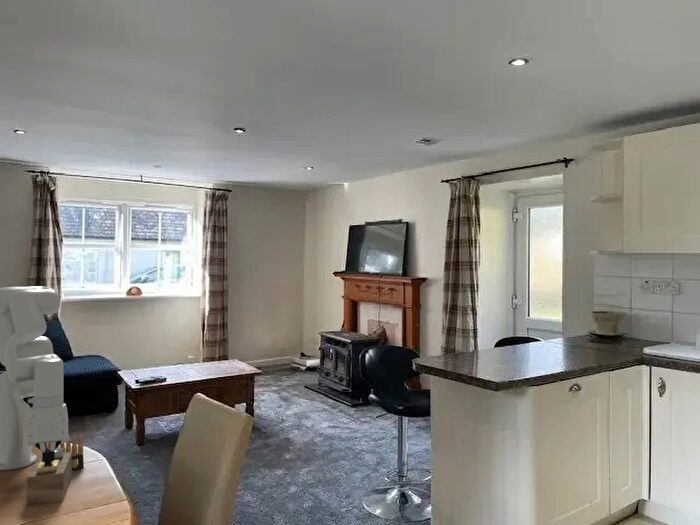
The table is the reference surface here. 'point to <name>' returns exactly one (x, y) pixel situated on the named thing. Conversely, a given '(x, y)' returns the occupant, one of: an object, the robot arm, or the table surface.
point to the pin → (58, 453)
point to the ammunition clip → (74, 452)
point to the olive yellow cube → (48, 467)
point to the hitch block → (49, 482)
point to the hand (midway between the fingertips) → (48, 463)
